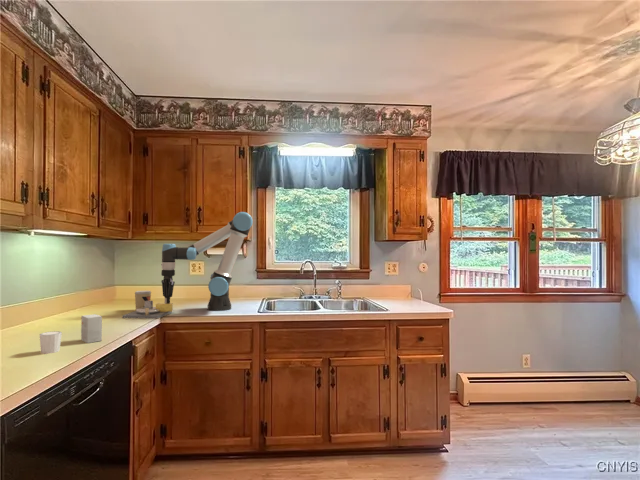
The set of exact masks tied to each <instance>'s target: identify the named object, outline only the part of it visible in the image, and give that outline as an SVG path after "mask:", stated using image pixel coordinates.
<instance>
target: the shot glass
mask: <svg viewBox="0 0 640 480" xmlns="http://www.w3.org/2000/svg"><path fill="white" fill-rule="evenodd" d="M62 335H63V333H62V331H55V330H54V331H47V332H41V333H40V334H39V342H40V343H39V344H40V354H47V355H49V354H53V353H58V352H60V350H61V349H60V348H61V342H62Z"/></svg>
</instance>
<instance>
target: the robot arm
mask: <svg viewBox="0 0 640 480" xmlns="http://www.w3.org/2000/svg"><path fill="white" fill-rule="evenodd" d="M253 223H254V220H253V217H252V215H250V214H249V213H248V212H246V211H240V212H238V213H235V215H234V217H233V218H232V220H231V221H228V222H227V225H225V226H223V227H221V228H219V229H217V230H216V231H214V232H212V233H210V234H209V235H207V236H205V237H203V238H202V239H200V240H198V241H196V242H195V243H193V244H190V245H189V246H186V247H184V246H182V247H181V246H179V247H178V246H176V245H177V244H175V243H163V244H162V249H161V276H162V277H163V279H161V281H160V283H161V287H162V296H163V297H164V304H166V303H171V298H172V297H173V292H174V287H175V284H176V283H175V281H173V277H175V275H176V261H177V260H187V261H190V260H191V261H195V260H196V259H197V256H199V255H200V254H202V253H204V252H205V251H208V250H209V249H211V248H212V247H215V246H217V245H218V244H219V243H221V242H223V241H225V240H226V239H228V240H227V243H226V245H225V248H224V251H223V253H222V255H221V259H220V261H219V264H218V267H217V269H216V270H213V273H211V275H210V281H208V282H209V283H208V286H207V288H208V291H209V292H210V293H209V294H210V297H209V300H208V304H207V311H229V310H231V309H232V303H231V299H230V284H231V281H232V278H233V276H232V272H233V269H234V266H235V264H236V261H237V259H238V255H239V253H240V250H241V248H242V245H243V243H244V240H245V238H247V237H248V235H249V234H250V230H251V227H252V226H253Z"/></svg>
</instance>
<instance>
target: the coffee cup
mask: <svg viewBox="0 0 640 480" xmlns="http://www.w3.org/2000/svg"><path fill="white" fill-rule="evenodd" d="M151 296H152V291H151V290H136V291H134V301H135V302H134V305H135V310H136V309H138V308H143V307H145V301H151Z"/></svg>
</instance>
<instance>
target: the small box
mask: <svg viewBox="0 0 640 480" xmlns="http://www.w3.org/2000/svg"><path fill="white" fill-rule="evenodd" d="M80 323H81V324H80V327H81V328H80V334H81V335H80V338H81V341H82V342H84V343H86V344H91V343H96V342H101V341H102V340H103V334H102V333H103V316H102V315H99V314H97V313H96V314H95V313H94V314H85V315H81V322H80Z"/></svg>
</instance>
